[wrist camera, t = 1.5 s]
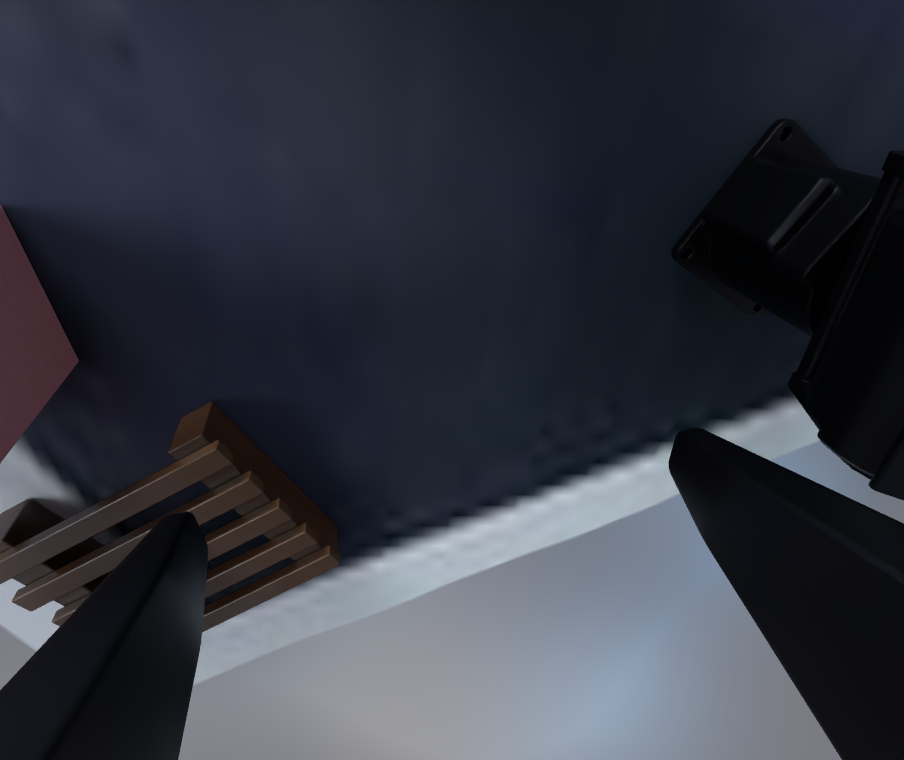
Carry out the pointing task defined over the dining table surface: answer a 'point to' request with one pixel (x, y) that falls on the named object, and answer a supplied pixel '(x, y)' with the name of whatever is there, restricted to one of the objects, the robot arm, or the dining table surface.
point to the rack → (198, 459)
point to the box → (26, 342)
